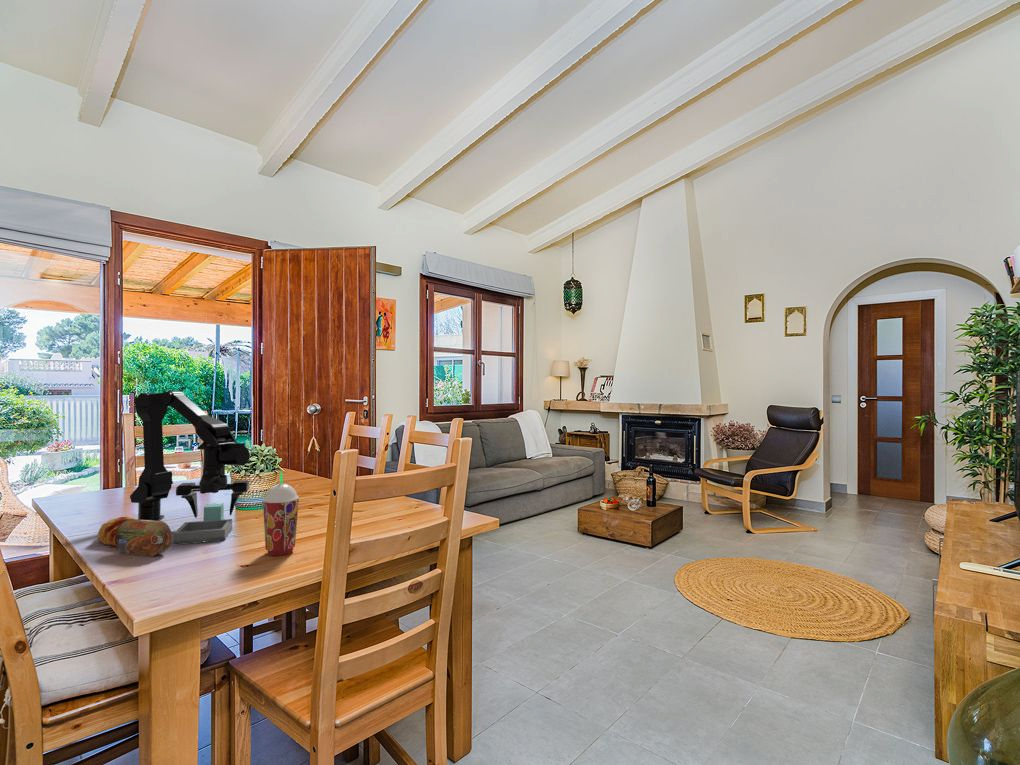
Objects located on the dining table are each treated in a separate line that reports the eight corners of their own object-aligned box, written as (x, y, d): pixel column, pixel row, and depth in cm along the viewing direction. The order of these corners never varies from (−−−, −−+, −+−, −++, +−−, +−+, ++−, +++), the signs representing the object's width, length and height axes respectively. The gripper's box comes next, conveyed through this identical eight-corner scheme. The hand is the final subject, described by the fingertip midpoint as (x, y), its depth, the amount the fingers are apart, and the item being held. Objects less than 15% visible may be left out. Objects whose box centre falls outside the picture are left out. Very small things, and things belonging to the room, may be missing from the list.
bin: (184, 532, 148) (185, 522, 148) (232, 529, 152) (232, 519, 152) (173, 544, 136) (173, 533, 136) (224, 540, 140) (224, 529, 141)
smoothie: (304, 552, 131) (305, 472, 131) (270, 560, 125) (272, 476, 125) (289, 545, 136) (290, 469, 137) (256, 552, 130) (257, 473, 131)
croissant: (103, 546, 146) (86, 523, 144) (142, 524, 153) (126, 502, 150) (113, 563, 131) (95, 538, 129) (155, 537, 137) (139, 513, 135)
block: (206, 524, 158) (207, 504, 158) (223, 522, 159) (223, 503, 159) (203, 527, 153) (203, 507, 154) (220, 526, 155) (220, 506, 155)
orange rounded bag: (113, 553, 129) (114, 519, 129) (125, 549, 132) (126, 516, 133) (162, 558, 126) (162, 523, 126) (173, 554, 129) (174, 520, 129)
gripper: (171, 469, 146) (170, 525, 146) (244, 466, 152) (244, 520, 152) (181, 464, 156) (180, 516, 156) (249, 461, 163) (249, 511, 162)
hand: (213, 516), depth 156 cm, fingers open, 9 cm apart
